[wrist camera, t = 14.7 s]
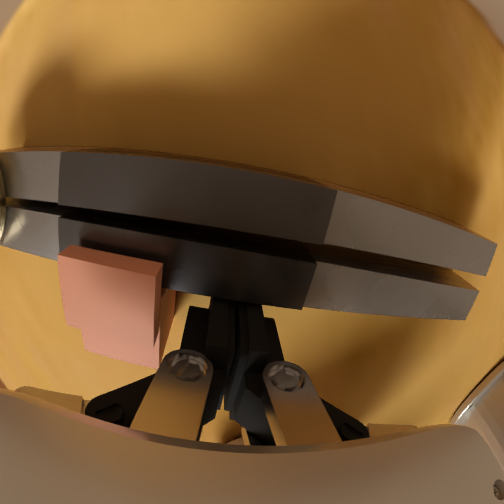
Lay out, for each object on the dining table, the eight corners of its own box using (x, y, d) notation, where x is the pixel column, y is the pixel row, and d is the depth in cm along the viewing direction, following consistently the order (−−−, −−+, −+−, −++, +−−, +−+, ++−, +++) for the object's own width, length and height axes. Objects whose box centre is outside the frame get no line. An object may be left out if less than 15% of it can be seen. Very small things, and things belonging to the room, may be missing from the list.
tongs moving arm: (459, 224, 11) (500, 245, 8) (449, 252, 12) (488, 277, 9) (21, 147, 8) (-25, 154, 5) (20, 180, 9) (-25, 195, 6)
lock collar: (183, 226, 10) (156, 276, 6) (173, 316, 12) (154, 387, 8) (114, 214, 10) (57, 254, 6) (113, 303, 11) (76, 365, 7)
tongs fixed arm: (459, 225, 11) (513, 254, 7) (430, 298, 13) (472, 340, 9) (-2, 139, 8) (-59, 148, 4) (-4, 221, 9) (-54, 249, 6)
